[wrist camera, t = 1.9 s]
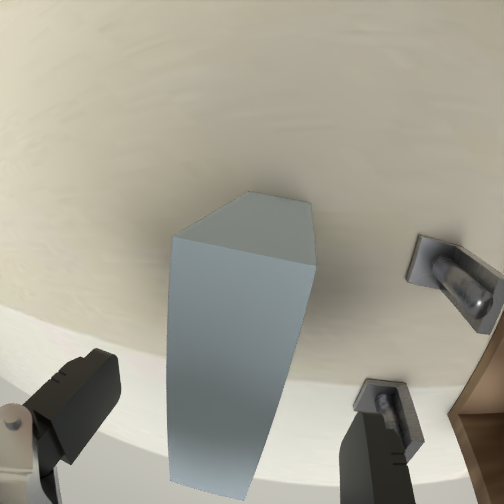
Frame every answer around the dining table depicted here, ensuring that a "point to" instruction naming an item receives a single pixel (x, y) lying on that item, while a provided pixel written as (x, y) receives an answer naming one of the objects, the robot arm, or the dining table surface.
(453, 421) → the cabinet
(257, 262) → the door
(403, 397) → the hinge clips
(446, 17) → the dining table surface
